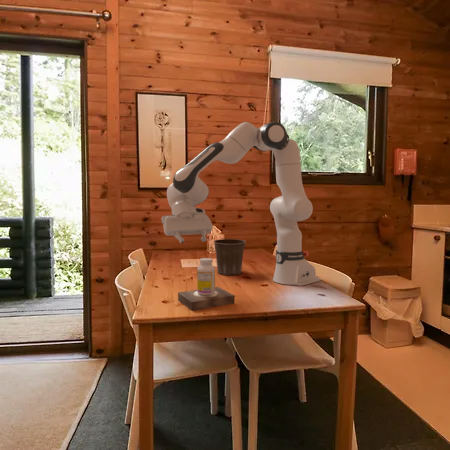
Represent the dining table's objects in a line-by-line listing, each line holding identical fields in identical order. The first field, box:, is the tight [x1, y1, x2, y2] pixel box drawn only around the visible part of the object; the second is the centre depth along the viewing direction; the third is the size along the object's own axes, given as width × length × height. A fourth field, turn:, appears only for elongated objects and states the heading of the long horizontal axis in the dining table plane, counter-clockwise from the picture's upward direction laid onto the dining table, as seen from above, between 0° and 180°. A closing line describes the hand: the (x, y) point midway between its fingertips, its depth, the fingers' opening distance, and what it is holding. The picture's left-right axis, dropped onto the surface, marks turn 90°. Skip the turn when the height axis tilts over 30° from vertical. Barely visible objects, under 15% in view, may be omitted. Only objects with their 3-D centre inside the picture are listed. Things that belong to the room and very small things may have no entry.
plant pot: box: [213, 238, 246, 276], centre depth 174 cm, size 16×16×16 cm
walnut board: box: [177, 286, 236, 311], centre depth 128 cm, size 17×13×3 cm
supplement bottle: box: [196, 257, 216, 295], centre depth 127 cm, size 7×7×13 cm
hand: (193, 241), depth 136 cm, fingers open, 8 cm apart
